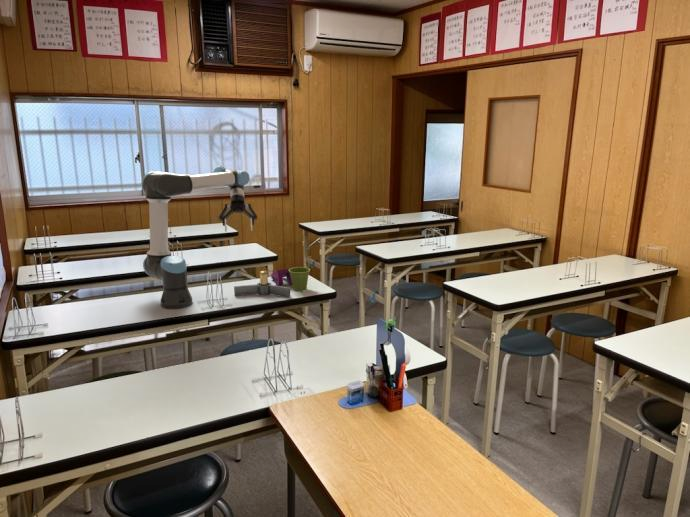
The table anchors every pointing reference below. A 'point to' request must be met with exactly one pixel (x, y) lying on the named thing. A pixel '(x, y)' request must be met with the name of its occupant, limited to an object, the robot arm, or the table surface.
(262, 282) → the hinge pin
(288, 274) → the purple irregular piece
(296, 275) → the plant pot
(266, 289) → the steel hinge
